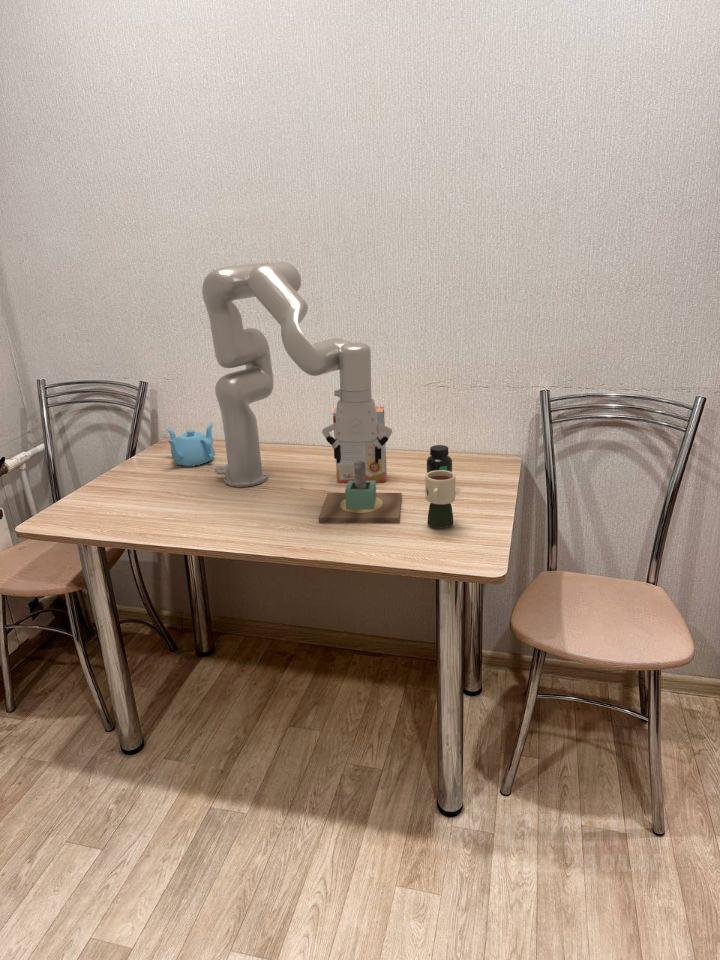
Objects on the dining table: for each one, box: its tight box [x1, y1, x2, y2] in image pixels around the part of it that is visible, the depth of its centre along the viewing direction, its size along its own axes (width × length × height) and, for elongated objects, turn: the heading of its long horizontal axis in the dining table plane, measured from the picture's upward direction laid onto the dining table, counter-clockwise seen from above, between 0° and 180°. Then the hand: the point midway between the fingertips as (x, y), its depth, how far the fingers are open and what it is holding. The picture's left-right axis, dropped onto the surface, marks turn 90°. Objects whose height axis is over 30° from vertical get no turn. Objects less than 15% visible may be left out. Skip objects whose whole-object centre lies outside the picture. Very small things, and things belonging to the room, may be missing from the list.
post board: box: [318, 461, 403, 524], centre depth 176 cm, size 20×16×13 cm
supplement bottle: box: [426, 444, 453, 474], centre depth 187 cm, size 7×7×12 cm
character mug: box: [424, 470, 456, 529], centre depth 165 cm, size 11×7×13 cm, turn 159°
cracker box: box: [332, 405, 388, 483], centre depth 195 cm, size 14×6×21 cm, turn 84°
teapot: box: [165, 422, 216, 467], centre depth 218 cm, size 15×15×10 cm
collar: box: [344, 481, 377, 509], centre depth 176 cm, size 7×7×5 cm
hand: (357, 461), depth 174 cm, fingers open, 9 cm apart
